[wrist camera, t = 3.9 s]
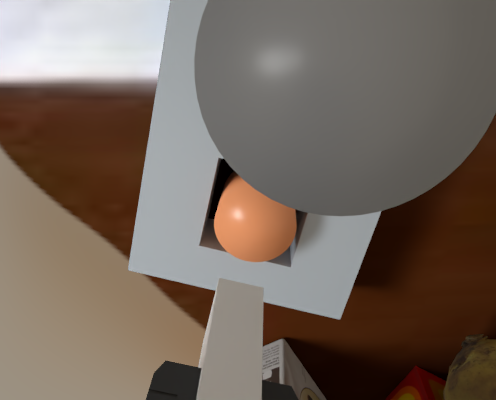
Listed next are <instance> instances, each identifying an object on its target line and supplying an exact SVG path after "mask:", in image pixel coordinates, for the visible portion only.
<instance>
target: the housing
mask: <svg viewBox="0 0 496 400" xmlns="http://www.w3.org/2000/svg"><path fill="white" fill-rule="evenodd" d="M207 2H208V0H170V6H169V12H168V18H167V25H166V31H165V38H164V44H163V50H162V57H161V63H160V69H159V76H158V82H157V88H156V95H155V101H154V108H153V114H152V120H151V127H150V133H149V139H148V146H147V152H146V158H145V165H144V171H143V178H142V184H141V190H140V197H139V203H138V209H137V216H136V222H135V228H134V235H133V241H132V248H131V254H130V260H129V267H128V270H130V271H134V272H138V273H142V274H147V275H151V276H155V277H160V278H164V279H168V280H172V281H177V282H181V283H185V284H190V285H194V286H198V287H202V288H207V289H211V290H215V291H216V288H217V284H218V280H219V278H222V279H227V280H231V281H236V282H240V283H245V284H249V285H254V286H258V287H263V302H266V303H271V304H275V305H279V306H284V307H288V308H292V309H296V310H301V311H305V312H309V313H314V314H318V315H322V316H326V317H331V318H335V319H339V320H340V318H341V316H342V313H343V311H344V308H345V305H346V303H347V300H348V297H349V295H350V292H351V290H352V287H353V284H354V282H355V279H356V276H357V274H358V271H359V269H360V266H361V263H362V261H363V258H364V256H365V253H366V250H367V248H368V245H369V242H370V240H371V237H372V235H373V232H374V229H375V227H376V224H377V221H378V219H379V216H380V214H381V211H379V212H375V213H369V214H364V215H356V216H325V215H318V214H312V213H307V212H303V211H300V210H298V211H297V214H296V224H297V228H296V234H295V237H294V240H293V242H292V243H291V245H290V246H289V248H288V249H287V250H286V251H285V252H284V253H282V254H281V255H280V256H278V257H276V258H274V259H272V260H268V261H264V262H249V261H244V260H241V259H238V258H236V257H234V256H233V255H231V254H230V253H228V252H227V251H226V250H225V249H224V248H223V247H222V245H221V244H220V243H219V241H218V239H217V237H216V234H215V229H214V219H210V218H208V217H209V212H210V208H211V203H212V199H213V195H214V190H215V186H216V181H217V177H218V172H219V168H220V163H221V159H224V158H223V156H222V155H221V154H220V152H219V151H218V149H217V147H216V146H215V144H214V142H213V140H212V139H211V137H210V135H209V133H208V130H207V128H206V125H205V123H204V120H203V118H202V114H201V111H200V107H199V103H198V100H197V93H196V86H195V78H194V56H195V48H196V39H197V34H198V30H199V26H200V22H201V18H202V15H203V12H204V9H205V7H206V4H207Z"/></svg>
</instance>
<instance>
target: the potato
mask: <svg viewBox="0 0 496 400" xmlns="http://www.w3.org/2000/svg"><path fill="white" fill-rule="evenodd" d="M483 335H484V334H476V335H469V336H466V340H464V341H463V342H462V344H461V345H462V347H463V348H462V349H461V351H460V352H459V353H458V354H457V355H456V357H455V359H454V361H453V362H452V364H451V366H449V373H448V377H447V381H446V385H445V389H444V390H443V399H444V400H496V339H488V336H485V337H482V336H483Z"/></svg>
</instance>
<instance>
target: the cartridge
mask: <svg viewBox="0 0 496 400" xmlns="http://www.w3.org/2000/svg"><path fill="white" fill-rule="evenodd" d="M194 78H195V86H196V93H197V100H198V103H199V107H200V111H201V114H202V118H203V120H204V123H205V125H206V128H207V130H208V133H209V135H210V137H211V139H212V140H213V142H214V144H215V146H216V147H217V149H218V151H219V152H220V154H221V155H222V156H223V158H224V159H225V160H226V162H227V163H228V164H229V166H230V167H231V168H232V169H233V170H234V171H235V172H236V173H237V174H238V175H239V176H240V177H241V178H242V179H243V180H244V181H245V182H247V183H248V184H249V185H250V186H252V187H253V188H254V189H256V190H257V191H258V192H260V193H262V194H263V195H265V196H267V197H268V198H270V199H272V200H274V201H276V202H278V203H280V204H283V205H285V206H287V207H290V208H293V209H296V210H300V211H303V212H307V213H312V214H318V215H325V216H356V215H364V214H369V213H375V212H379V211H383V210H386V209H389V208H393V207H396V206H398V205H401V204H403V203H405V202H407V201H410V200H412V199H414V198H416V197H418V196H419V195H421V194H423V193H425V192H426V191H428V190H430V189H431V188H433V187H434V186H435V185H437V184H438V183H440V182H441V181H442V180H444V179H445V178H446V177H447V176H449V175H450V174H451V173H452V172H453V171H454V170H455V169H456V168H457V167H458V166H459V165H460V164H461V163H462V162H463V161H464V160H465V159H466V158H467V157H468V155H469V154H470V153H471V152H472V151H473V150H474V148H475V147H476V145H477V144H478V143H479V141H480V140H481V138H482V137H483V135H484V134H485V132H486V131H487V129H488V127H489V125H490V123H491V121H492V119H493V117H494V115H495V113H496V0H208V2H207V4H206V7H205V9H204V12H203V15H202V18H201V22H200V26H199V30H198V34H197V39H196V48H195V56H194Z"/></svg>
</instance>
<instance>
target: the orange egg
mask: <svg viewBox="0 0 496 400" xmlns="http://www.w3.org/2000/svg"><path fill="white" fill-rule="evenodd" d="M296 228H297V224H296V211H295V209H293V208H290V207H287V206H285V205H283V204H280V203H278V202H276V201H274V200H272V199H270V198H268V197H267V196H265V195H263V194H262V193H260V192H258V191H257V190H256V189H254V188H253V187H252V186H250V185H249V184H248V183H247V182H245V181H244V180H243V179H242V178H241V177H240V176H239V175H238V174H237V173H236V172H235V171H234V172H232V173H231V175H230V176H229V177H228V179H227V180H226V182H225V184H224V188H223V191H222V194H221V198H220V201H219V204H218V208H217V211H216V214H215V219H214V229H215V234H216V237H217V239H218V241H219V243H220V244H221V245H222V247H223V248H224V249H225V250H226V251H227V252H228V253H230V254H231V255H233V256H234V257H236V258H238V259H241V260H244V261H249V262H264V261H268V260H272V259H274V258H276V257H278V256H280V255H281V254H282V253H284V252H285V251H286V250H287V249H288V248H289V246H290V245H291V243H292V242H293V240H294V237H295V234H296Z"/></svg>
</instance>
